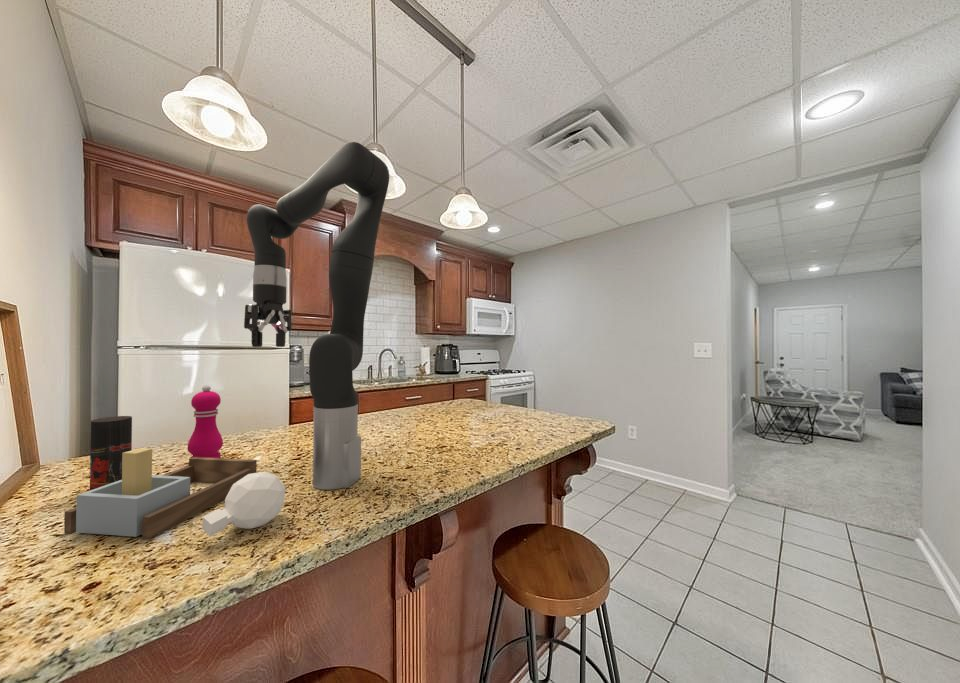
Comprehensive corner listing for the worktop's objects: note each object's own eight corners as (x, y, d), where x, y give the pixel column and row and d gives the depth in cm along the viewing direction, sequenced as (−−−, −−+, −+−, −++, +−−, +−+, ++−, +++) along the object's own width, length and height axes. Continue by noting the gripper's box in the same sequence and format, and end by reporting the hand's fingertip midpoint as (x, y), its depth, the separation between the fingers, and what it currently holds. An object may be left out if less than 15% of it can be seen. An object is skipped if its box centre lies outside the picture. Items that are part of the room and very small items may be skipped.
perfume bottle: (264, 495, 66) (190, 534, 55) (268, 454, 64) (191, 486, 53) (294, 519, 63) (221, 564, 52) (299, 476, 60) (224, 514, 50)
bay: (256, 482, 77) (256, 459, 77) (148, 539, 54) (149, 507, 54) (193, 479, 78) (194, 457, 78) (64, 533, 56) (64, 502, 56)
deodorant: (137, 487, 74) (138, 417, 74) (99, 498, 68) (100, 423, 68) (121, 483, 76) (122, 415, 76) (82, 494, 70) (83, 420, 70)
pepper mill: (229, 458, 93) (230, 383, 93) (205, 467, 86) (206, 387, 86) (205, 457, 93) (206, 383, 94) (179, 466, 86) (180, 386, 86)
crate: (189, 509, 64) (190, 444, 64) (136, 536, 55) (137, 461, 55) (136, 506, 65) (137, 442, 65) (75, 532, 56) (77, 458, 56)
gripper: (263, 279, 83) (262, 347, 83) (300, 289, 97) (299, 346, 97) (234, 280, 83) (234, 347, 83) (275, 289, 98) (275, 346, 98)
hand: (269, 346), depth 90 cm, fingers open, 8 cm apart
